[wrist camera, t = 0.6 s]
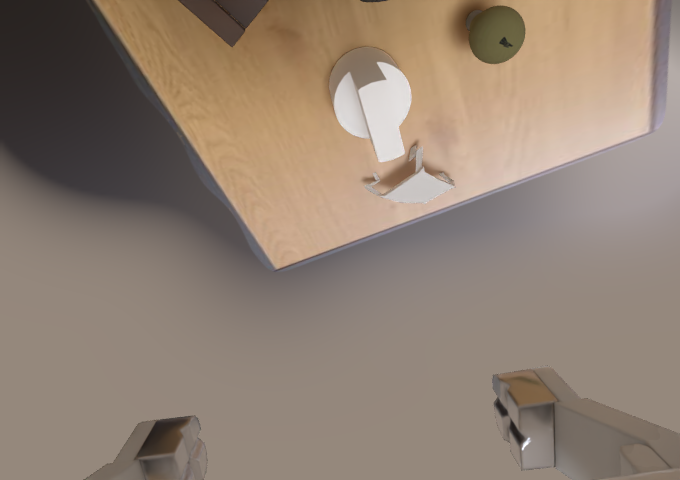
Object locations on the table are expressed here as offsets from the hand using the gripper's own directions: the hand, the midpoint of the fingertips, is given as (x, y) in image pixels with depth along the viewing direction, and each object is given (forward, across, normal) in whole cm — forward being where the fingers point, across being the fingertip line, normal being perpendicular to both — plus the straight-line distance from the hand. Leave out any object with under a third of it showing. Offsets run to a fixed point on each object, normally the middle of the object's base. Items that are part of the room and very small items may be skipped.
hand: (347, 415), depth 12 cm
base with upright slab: (+49, -6, -12) cm, 51 cm away
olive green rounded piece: (+47, -19, -17) cm, 54 cm away
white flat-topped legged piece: (+54, -10, 0) cm, 55 cm away
